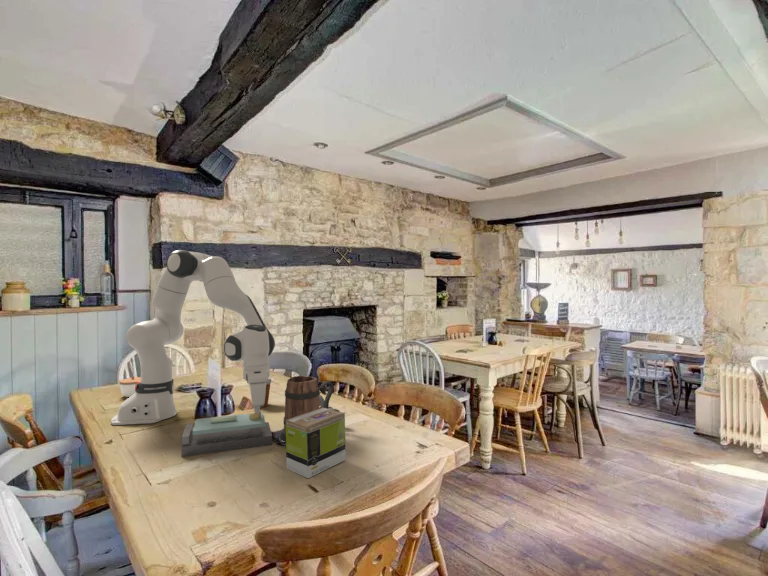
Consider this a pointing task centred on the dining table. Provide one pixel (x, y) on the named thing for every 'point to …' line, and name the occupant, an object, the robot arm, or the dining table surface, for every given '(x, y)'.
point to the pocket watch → (322, 402)
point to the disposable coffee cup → (267, 392)
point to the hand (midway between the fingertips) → (257, 412)
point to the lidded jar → (128, 386)
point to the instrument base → (224, 440)
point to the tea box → (315, 441)
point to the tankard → (303, 398)
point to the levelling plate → (229, 423)
